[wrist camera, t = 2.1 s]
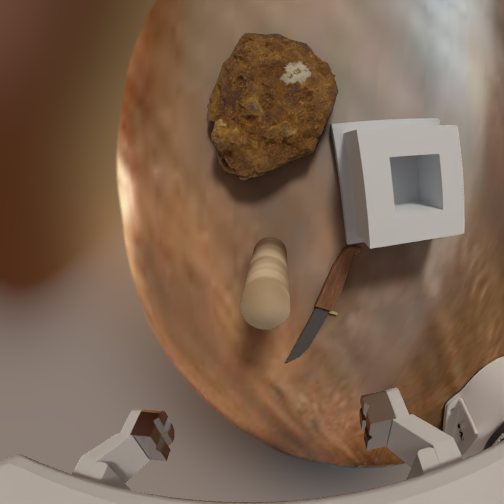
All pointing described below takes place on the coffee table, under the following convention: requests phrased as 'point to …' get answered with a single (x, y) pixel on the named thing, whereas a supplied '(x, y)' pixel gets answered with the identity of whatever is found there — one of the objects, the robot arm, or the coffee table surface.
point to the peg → (267, 286)
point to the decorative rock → (269, 104)
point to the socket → (399, 180)
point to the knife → (325, 299)
